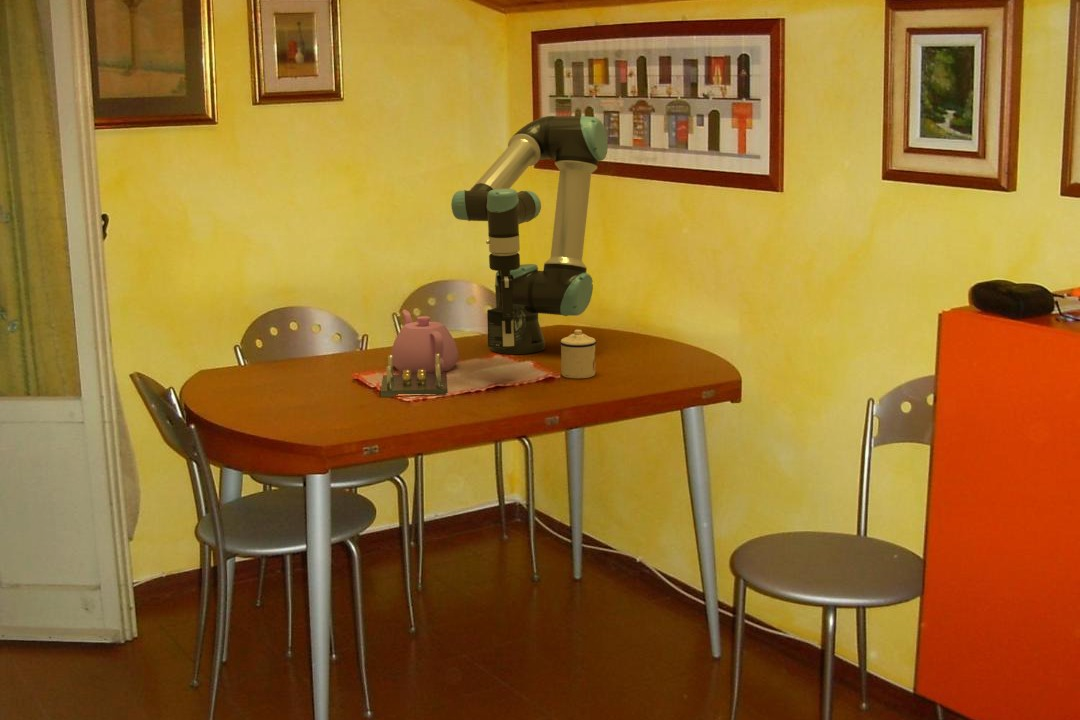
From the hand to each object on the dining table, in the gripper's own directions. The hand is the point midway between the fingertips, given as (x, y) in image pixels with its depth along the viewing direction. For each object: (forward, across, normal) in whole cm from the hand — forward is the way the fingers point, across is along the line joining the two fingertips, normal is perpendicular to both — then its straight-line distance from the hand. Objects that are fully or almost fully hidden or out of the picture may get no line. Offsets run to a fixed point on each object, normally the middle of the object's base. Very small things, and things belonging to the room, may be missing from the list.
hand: (507, 340), depth 331 cm
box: (+1, 0, 0) cm, 1 cm away
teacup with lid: (+11, -4, +18) cm, 21 cm away
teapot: (+11, -17, -22) cm, 30 cm away
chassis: (+10, +5, -24) cm, 26 cm away
